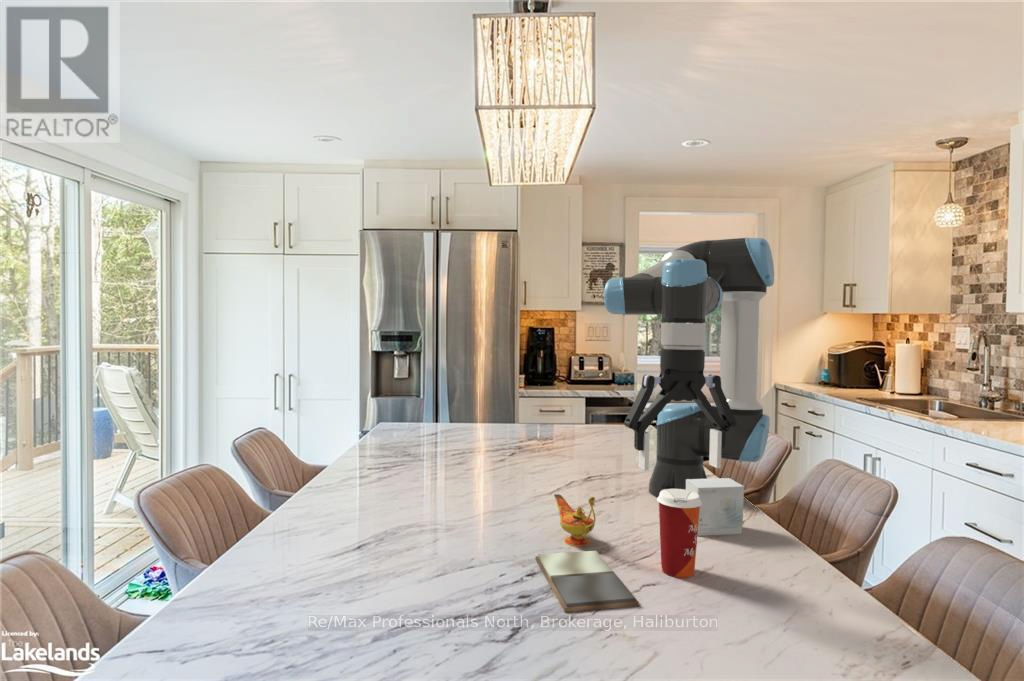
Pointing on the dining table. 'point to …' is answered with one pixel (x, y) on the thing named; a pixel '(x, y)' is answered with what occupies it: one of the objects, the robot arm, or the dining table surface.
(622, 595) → the wooden framed mirror
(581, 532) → the magic lamp
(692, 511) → the paper cup
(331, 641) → the dining table surface
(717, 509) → the skincare box
